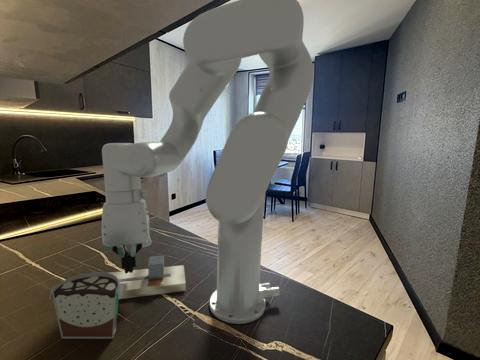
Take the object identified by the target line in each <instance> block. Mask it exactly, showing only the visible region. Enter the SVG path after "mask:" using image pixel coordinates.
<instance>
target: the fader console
mask: <svg viewBox="0 0 480 360" xmlns="http://www.w3.org/2000/svg"><path fill="white" fill-rule="evenodd" d="M109 273H110V274H113V275H115V276H116V277H117V278H118V280H119V281H120V284H121V287H122V290H123V291H122V296H121V298H120V299H119V298H118V300H122V299H129V298H138V297H146V296H155V295H162V294H170V293H176V292H179V293H180V292H186V291H187V283H186V274H185V273H186V272H185V265H173V266H172V265H171V266H164V279H157V280H149V277H148V268H143V269H133V272H132V273H130V272H128V273H125V270H123V271H113V272H109Z"/></svg>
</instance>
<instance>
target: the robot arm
mask: <svg viewBox="0 0 480 360" xmlns="http://www.w3.org/2000/svg"><path fill="white" fill-rule="evenodd" d="M304 19H305V18H304V11H303V8H302V6H301V3H300V2H299V0H236V1H235V0H234V1H232V2H229V3H228V2H227V3H225V4H223V5H220V6H217V7H213V8H211V9H209V10H207V11H205V12H202V13H200V14H199V15H197V16H196V17H194V18H193V19H192V20H191V21H190V22H189V23H188V25H187V26H186V29H185V31H184V34H183V36H182V37H183V39H182V44H183V49H184V51H185V55H186V57H188V58H189V61H188V62H187V64H186V66H185V67H184V69H183V71H182V72H181V74H180V75H179V77H178V78H177V80H176V82H175V84H174V85H173V86H172V88H171V90H169V95H168V98H169V102H170V104H171V105H170V106H171V108H172V119H171V123H170V125H169V127H168V128H167V130H166V132H165V133H164V135H163V137H162V138H161V139H160V141H143V142H136V143H135V142H134V143H131V142H110V143H109V142H108V143H106V144H104V145H103V146H102V148H101V156H102V166H103V167H102V168H103V179H104V180H103V181H104V191H105V202H104V203H103V206H102V211H101V212H102V213H101V240H102V241H101V242H102V250H103V251H106V252H107V251H109V252H114V254H116V255H118V257H119V258H121V261H120V262H121V269H122V270H124V271H125V273H128V272H130V273H132V272H133V270H134V268H136V267H137V257H136V256H137V254H138V253H139V251H140V250H141V249H143V248H145V247H149V246H151V245H152V239H151V236H150V235H151V225H150V224H151V223H150V218H149V217H150V215H149V210H148V206H147V201H146V199H143V198H145V197H148V196H149V193H148V191H149V190H144V189H143V188H142V186H141V185H142V184H141V183H142V182H141V178H143V179H146V178H147V179H149V178H152V177H157V176H159V175H162V174H168V173H170V172H173V171H174V170H176V169H177V168H178V167H179V166H180V165H181V164H182V162H183V161H184V159H185V158H186V156H187V155H188V154H189V153H190V151H191V150H192V148H193V147H194V144H195V143H196V141H197V139H198V137H199V134H200V132H201V130H202V127H203V123H204V121H205V118H206V117H207V115H208V114H209V112H210V111H211V109H212V108H213V107H214V105H215V103H216V102H217V101H218V99H219V98H220V96H221V94H222V93H223V92H224V90H225V89H226V88H227V86H228V85H229V83H230V81H232V79H233V77H234V76H235V74H236V73H237V72H238V69H239V67H240V66H241V63H242V59H245V58H248V57H249V58H250V57H253V56H257V55H258V56H259V57H260V60H262V61H263V63H264V64H265V66H267V68H268V70H269V72H268V73H269V76H268V78H267V82H266V83H265V85H264V87H263V88H262V91H261V94H260V96H259V99H258V101H257V103H256V105H255V107H254V109H253V111H252V112H251V113H249V114H246V115H244V116H243V117H242V118H240V119H239V120H238V121H237V122H236V124H235V125H234V126H233V128H232V129H231V131H230V133H229V135H228V137H227V140H226V141H225V143H224V145H223V149H222V151H221V153H220V155H219V157H218V160H217V161H216V164H215V167H214V169H213V172H212V174H211V176H210V179H209V181H208V184H207V187H206V192H205V203H206V207H207V210H208V211H209V213H210V215H211V216H213V218H214V219H215V220H216V221H218V224H217V226H218V227H217V229H218V230H217V259H216V260H217V262H216V263H217V264H216V267H217V268H216V269H217V270H216V289H215V291H214V292H213V293H211V295H210V298H209V308H210V309H209V310H210V311H211V313H212V314H213V315H214V316H215V317H216V318H218V320H221V321H223V322H225V323H228V324H235V325H236V324H237V325H242V324H248V323H252V322H254V321H256V320H259V318H261V317H262V316H263V314H264V312H265V310H266V304H267V303H266V299H267V298H268V297H277V296H280V295H281V292H280V288H279V286H271V283H270V282H263V283H261V282H260V281H261V259H262V242H263V227H264V226H263V225H264V214H265V213H264V211H265V202H266V192H267V190H268V188H269V186H270V183H271V182H272V180H273V177H274V175H275V173H276V171H277V170H278V167H279V165H280V163H281V161H282V159H283V157H284V155H285V153H286V150H287V148H288V144H289V140H290V137H291V136H292V132H293V131H294V129H295V126H296V124H297V122H298V120H299V118H300V116H301V113H302V111H303V109H304V106H305V104H306V103H307V100H308V97H309V95H310V93H311V90H312V86H313V82H314V66H313V65H314V64H313V60H312V57H311V54H310V53H309V51H308V48H307V47H306V45H305V43H304V41H303V32H304V26H305V25H304V22H305V20H304ZM127 246H130V251H127V250H128V249H127Z"/></svg>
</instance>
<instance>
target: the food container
mask: <svg viewBox="0 0 480 360" xmlns="http://www.w3.org/2000/svg"><path fill="white" fill-rule="evenodd" d="M110 273H111V272H100V271H98V272H97V271H95V272H89V273H83V274H78V275H75V276H71V277H69V278H67V279H64V280H62V281H61V282H59V283H57V284H55V285H54V286H53V287H51V291H50V292H49V297H48V299H49V300H51V299H52V298H53V304H54V305H53V306H54V309H55V313H56V318H57V322H58V327H59V333H60V338H61V339H114V338H115V336H116V335H117V333H116V332H117V321H118V309H119V308H118V306H119V300H121V299H120V298H121V296H122V291H123V290H122V287H121V284H120V281H119V280H118V278H117V277H116V276H115V275H113V274H110ZM118 298H119V299H118Z"/></svg>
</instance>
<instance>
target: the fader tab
mask: <svg viewBox="0 0 480 360" xmlns="http://www.w3.org/2000/svg"><path fill="white" fill-rule="evenodd" d="M164 258H165V255H154V256H153V255H152V256H151V255H150V256H149V258H148V264H147V269H148V277H149V280H157V279H164V267H165V259H164Z"/></svg>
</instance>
